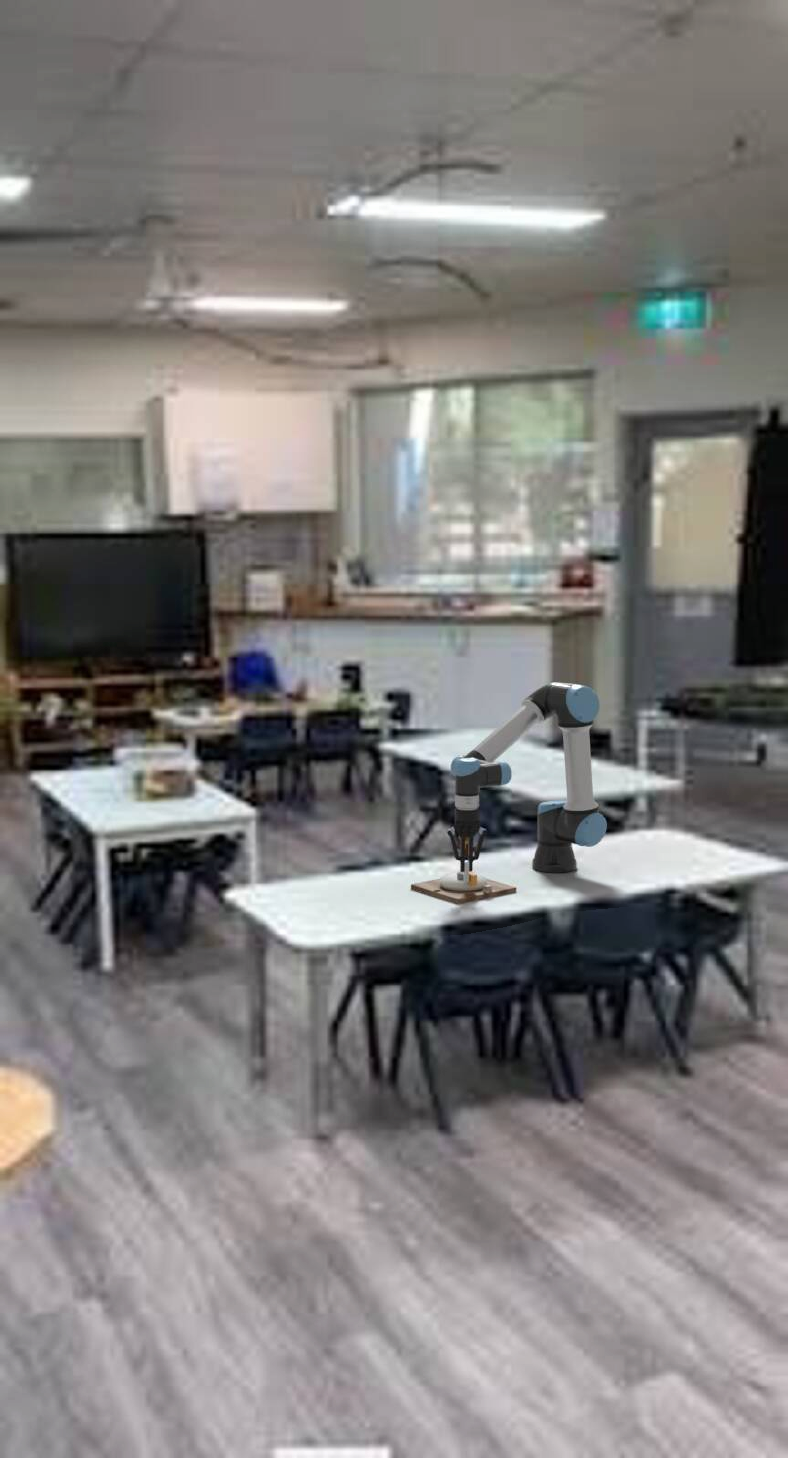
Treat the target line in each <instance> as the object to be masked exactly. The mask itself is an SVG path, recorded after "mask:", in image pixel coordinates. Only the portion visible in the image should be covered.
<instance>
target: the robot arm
mask: <svg viewBox="0 0 788 1458" xmlns="http://www.w3.org/2000/svg"><path fill="white" fill-rule="evenodd" d="M600 704H601V703H600V699H599V697H598V695H597V692H595V690H593V689H592V688H591V687H589V686H585V685H584V684H580V683H568V682H567V683H566V682H560V681H554V682H550V683H547V684H545V685H543V686H541V687H539V688H537V689H536V690H534V692H532V693H531V694H530V695H528V696H527V697H526V698H525V699H523V700H522V701H521V707H519V708H518V709H517V710H515V712H514V713H512V714H511V715H510V716H509V717H508V718H507V719H506V720H505V721H503V722H502V723H501V724H500V725H499V726H497V728H495V730H493V731H492V732H491V733H490V734H489V735H487V736H486V737H485V738H484V739H483V740H482V741H481V742H480V743H478V744H477V746H475V747H474V748H473V749H472V750H471V751H470V752H468V753H467V754H466V755H458V756H455V757H454V758H453V759H452V761H451V763H450V771H451V775H453V776H454V779H455V780H454V782H455V783H454V784H455V785H454V786H455V789H454V790H455V794H454V795H455V796H454V799H455V800H454V807H456V808H454V809H455V810H454V822H453V826H452V827H450V828H447V829H446V833H447V835H448V836H449V839H450V840H449V841H450V843H451V846H452V848H451V849H452V851H453V856H454V858H455V860H457V861H459V862H460V863H459V864H460V867H459V868H460V869H459V871H460V870H461V871H460V872H464V882H465V883H469V872H473V871H474V870H473V869H474V868H473V866H474V863H473V862H474V861H477V860H479V858H480V856H481V855H480V854H481V851H482V846H483V842H484V839H485V837H486V835H487V834H488V831H487V829H486V828H483V827H482V826H481V823H480V809H479V807H480V789H481V788H482V789H483V788H490V787H497V786H498V787H501V786H504V785H505V786H506V785H507V784H509V783H510V781H511V780H512V775H513V774H512V773H513V772H512V768H511V766H510V765H509V763H508V762H506V761H499V760H498V759H499V757H501V756H502V755H503V754H504V753H505V752H507V751H508V749H510V748H511V747H512V746H513V745H514V744H515V743H517V742H518V741H519V740H520V739H521V738H522V737H523V736H524V735H525V734H527V733H528V732H529V731H530V730H531V729H532V728H534V727H535V725H537V724H538V725H540V724H542V723H543V722H544V721H546V720H547V719H550V718H556V719H557V720H556V721H557V728H559V729H560V730H561V731H562V737H563V739H562V740H563V752H564V753H563V755H564V756H563V757H564V769H565V771H564V772H565V784H566V785H565V786H566V799H567V800H550V801H543V802H541V803H539V805H538V807H537V814H536V815H537V820H536V821H537V846H536V849H535V852H534V857H533V858H532V862H531V867H532V869H533V870H534V871H535V870H536V871H537V872H538V871H539V872H542V873H551V874H553V873H568V872H569V873H570V872H572V871H575V870H577V869H578V865H577V862H578V861H577V859H576V856H575V853H574V850H573V845H572V844H574V845H576V846H577V845H578V846H579V847H588V848H590V847H594V846H596V845H598V844H599V843H600V842H602V840H603V838H604V837H605V836H606V833H607V832H606V831H607V829H608V828H607V826H608V825H607V824H608V823H607V820H606V817H604V815H603V814H602V813H600V809H599V803H598V802H596V801H595V799H594V792H593V791H594V789H593V774H592V773H593V771H592V756H591V755H592V754H591V741H590V740H591V739H590V729H591V728H592V726H594V720H595V719H596V718H597V716H598V714H599V711H600V706H601V705H600ZM496 760H498V761H496ZM455 832H456V833H457V834H458V837H459V836H460V840H459V845H460V849H458V848H457V846H456V845H457V843H456V839H455V834H456V833H455ZM477 833H478V834H479V835H478V838H477V843H476V846H475V847H476V849H475V851H474V850H473V847H474V839H473V837H475V836H476V835H477ZM465 837H468V860H465ZM458 850H459V851H460V852H459V851H458ZM459 854H460V855H459Z"/></svg>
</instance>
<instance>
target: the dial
mask: <svg viewBox="0 0 788 1458" xmlns="http://www.w3.org/2000/svg"><path fill="white" fill-rule="evenodd" d="M439 879H440V886H441V887H442V888H445V889H449V890H456V891H472V890H479V889H482V888H483V886H484V885H487V879H488V878H487V877H486V876H485V875H484V876H483V875H482V874H476V873H474V872H473V871H471V872H469V883H465V882H464V872H461V871H458V872H457V873H448V874H445V875H442V876H441V877H439Z"/></svg>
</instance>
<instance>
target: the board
mask: <svg viewBox="0 0 788 1458" xmlns="http://www.w3.org/2000/svg"><path fill="white" fill-rule="evenodd" d="M410 890H413V891H415V892H419V893H422V894H425V895H429V896H432V897H435V898H439V899H442V900H445V901H448V902H451V903H454V904H456V905H460V904H466V903H470V902H475V901H479V900H484V899H485V900H486V899H489V898H494V897H498V896H503V895H508V894H513V893H516V892H517V887H516V886H513V885H509V884H507V883H503V882H500V881H495V880H492V879H489V878H487V885H484V886H483V888H482V889H479V890H472V891H456V890H449V889H445V888H442V887H441V886H440V878H437V879H432V880H426V881H422V882H417V883H411V884H410Z"/></svg>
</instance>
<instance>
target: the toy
mask: <svg viewBox="0 0 788 1458" xmlns="http://www.w3.org/2000/svg"><path fill="white" fill-rule="evenodd" d="M474 837H475V836H474ZM474 837H473V840H474ZM457 839H458V840H459V841H460V836H459V835H458V837H457ZM456 846H457V850H460V844H459V845H458V844H456ZM450 848H451V849H453V848H452V845H451V846H450ZM475 849H476V846H473V852H475ZM465 860H468V837H465ZM459 872H461V870H460V869H459Z"/></svg>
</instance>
